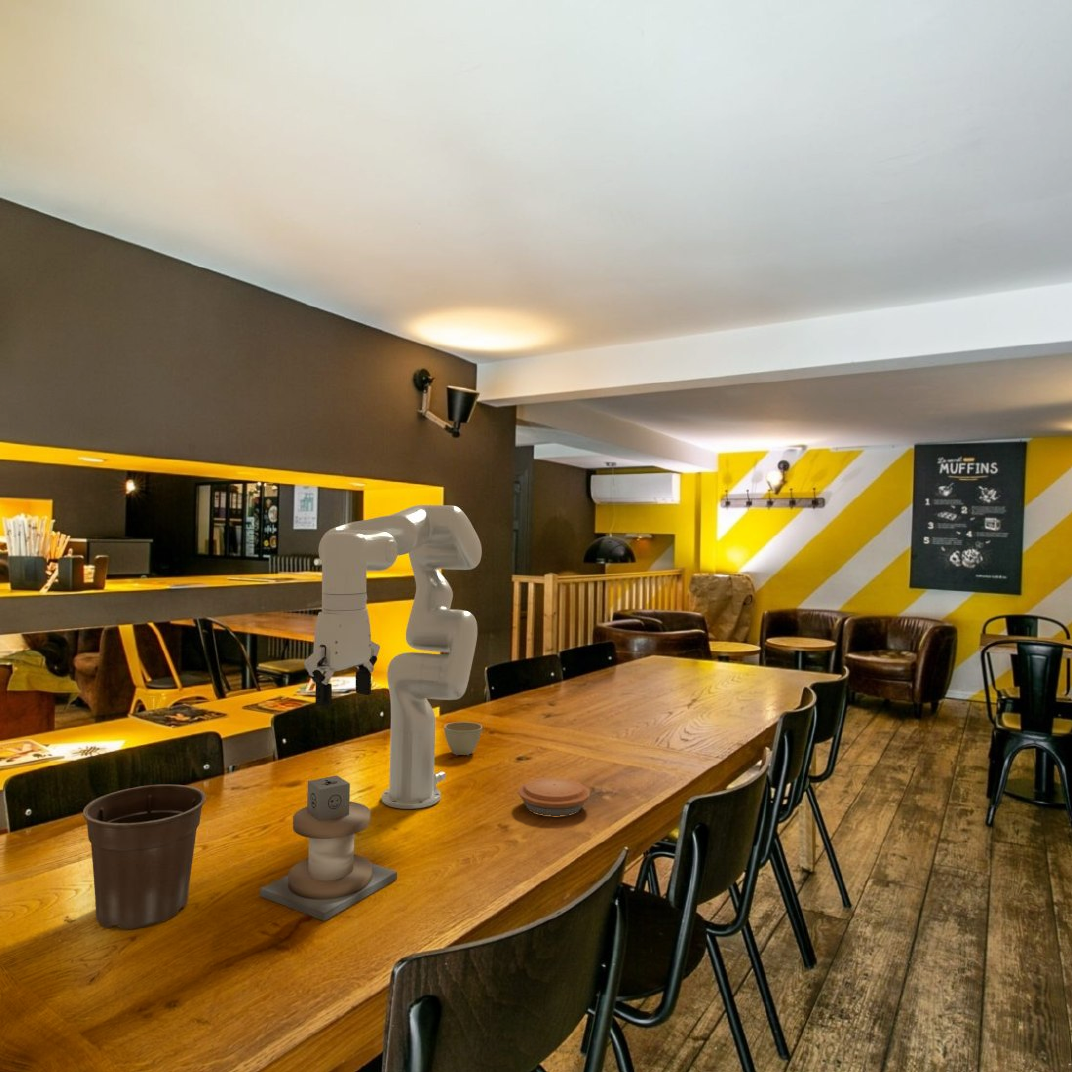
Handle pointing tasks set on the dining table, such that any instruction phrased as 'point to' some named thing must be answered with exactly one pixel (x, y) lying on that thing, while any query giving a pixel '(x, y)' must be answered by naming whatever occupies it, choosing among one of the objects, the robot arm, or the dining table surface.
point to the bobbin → (329, 867)
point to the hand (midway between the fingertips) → (344, 699)
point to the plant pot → (142, 852)
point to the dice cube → (328, 798)
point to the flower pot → (462, 737)
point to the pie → (553, 795)
